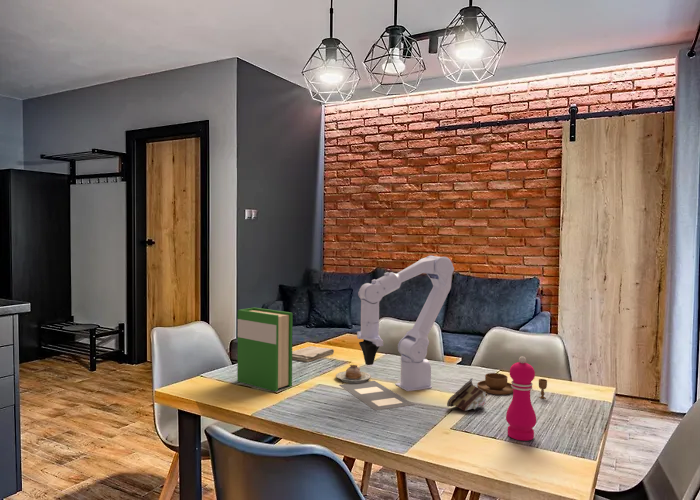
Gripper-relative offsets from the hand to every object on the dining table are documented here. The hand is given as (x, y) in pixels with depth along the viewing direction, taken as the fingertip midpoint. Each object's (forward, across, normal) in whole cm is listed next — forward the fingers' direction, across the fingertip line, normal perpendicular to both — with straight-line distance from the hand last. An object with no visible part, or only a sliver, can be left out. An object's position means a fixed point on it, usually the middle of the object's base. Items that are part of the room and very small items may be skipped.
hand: (369, 364), depth 165 cm
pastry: (+8, -14, +1) cm, 16 cm away
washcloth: (+9, -50, -2) cm, 51 cm away
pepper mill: (+9, +47, +19) cm, 51 cm away
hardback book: (+9, -19, -29) cm, 36 cm away
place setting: (+9, +17, +40) cm, 45 cm away
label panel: (+8, +4, 0) cm, 9 cm away
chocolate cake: (+10, +26, +16) cm, 32 cm away
